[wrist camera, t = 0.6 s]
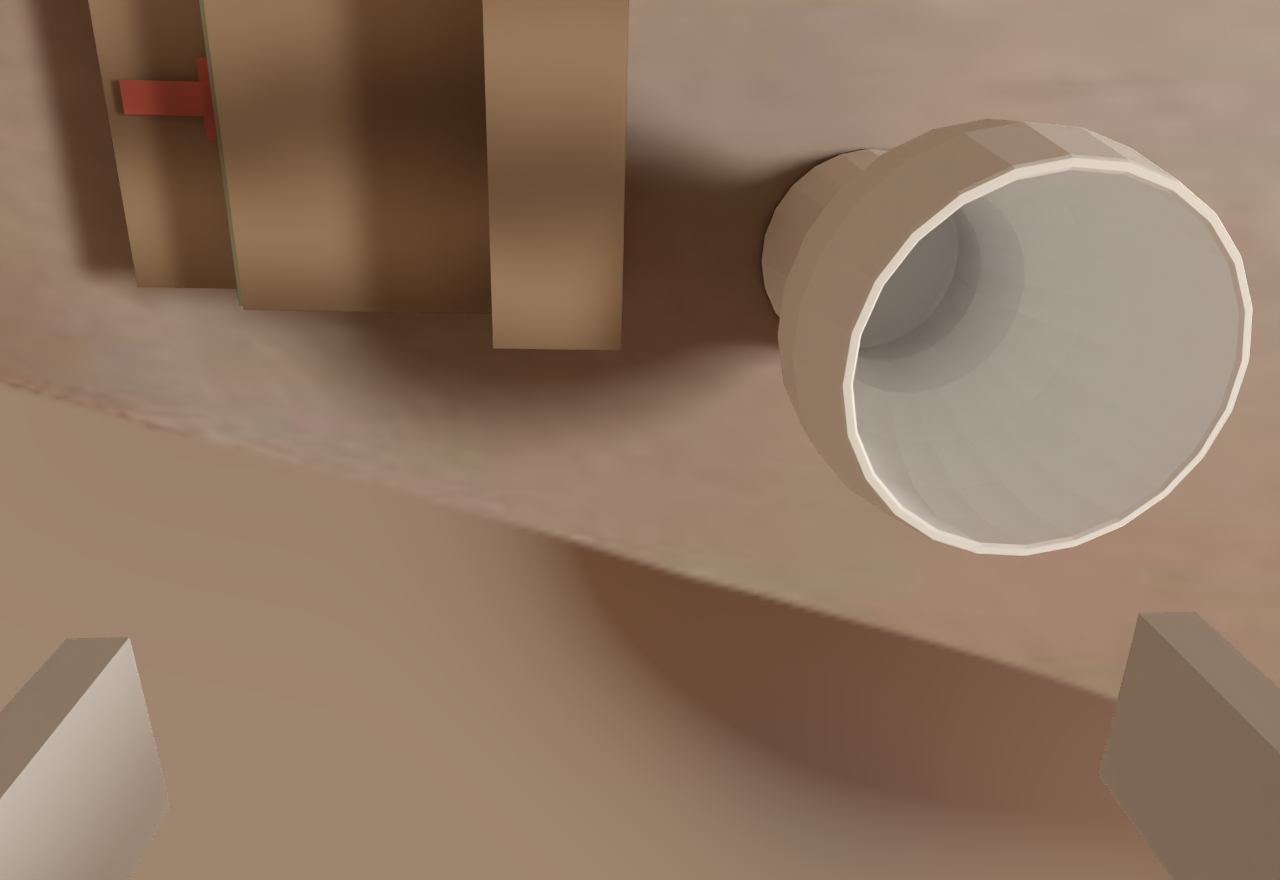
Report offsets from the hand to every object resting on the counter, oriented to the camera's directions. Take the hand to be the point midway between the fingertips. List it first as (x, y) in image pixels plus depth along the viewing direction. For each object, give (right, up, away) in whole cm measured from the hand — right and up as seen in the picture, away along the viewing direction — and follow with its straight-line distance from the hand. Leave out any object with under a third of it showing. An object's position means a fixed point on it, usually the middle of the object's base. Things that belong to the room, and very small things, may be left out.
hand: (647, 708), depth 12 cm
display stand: (-9, +15, +20) cm, 26 cm away
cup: (+8, +11, +23) cm, 26 cm away
